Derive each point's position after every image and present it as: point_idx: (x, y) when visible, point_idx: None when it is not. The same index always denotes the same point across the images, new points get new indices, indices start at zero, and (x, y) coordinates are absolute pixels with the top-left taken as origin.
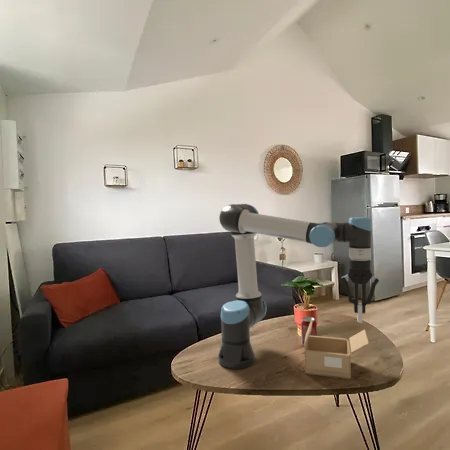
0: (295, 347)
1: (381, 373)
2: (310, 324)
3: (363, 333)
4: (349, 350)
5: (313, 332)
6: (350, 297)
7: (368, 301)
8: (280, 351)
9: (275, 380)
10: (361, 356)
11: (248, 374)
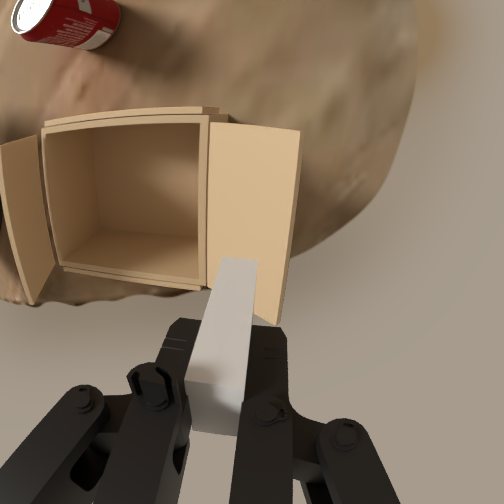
0: (59, 65)
1: (331, 188)
2: (6, 213)
3: (281, 183)
4: (204, 244)
5: (76, 30)
6: (90, 478)
7: (311, 484)
8: (28, 114)
9: (56, 271)
10: (286, 63)
11: (13, 255)
